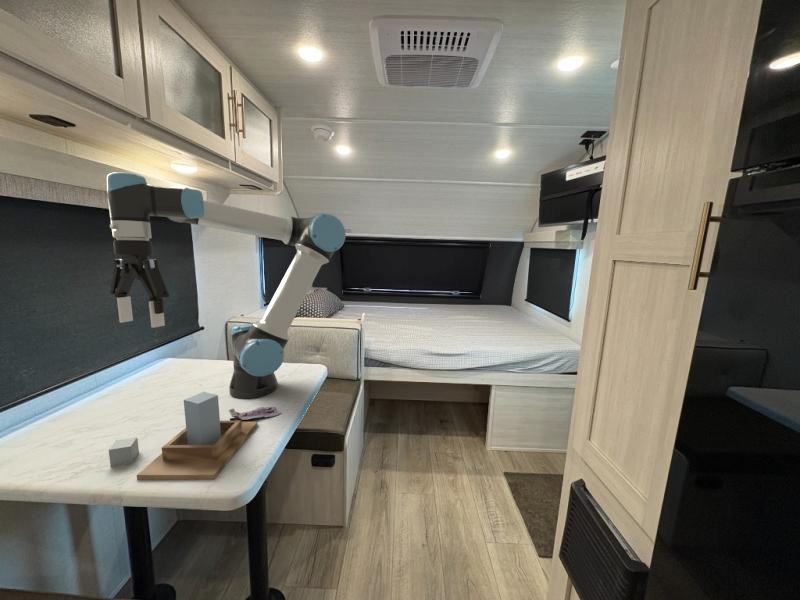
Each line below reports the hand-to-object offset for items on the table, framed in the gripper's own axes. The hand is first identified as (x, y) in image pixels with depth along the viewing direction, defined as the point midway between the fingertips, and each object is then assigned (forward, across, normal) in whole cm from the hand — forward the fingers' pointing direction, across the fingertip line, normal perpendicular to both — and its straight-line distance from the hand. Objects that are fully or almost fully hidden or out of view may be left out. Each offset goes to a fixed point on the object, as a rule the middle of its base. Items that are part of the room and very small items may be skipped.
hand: (141, 324), depth 85 cm
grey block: (+29, +8, -10) cm, 32 cm away
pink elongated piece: (+29, +20, +16) cm, 39 cm away
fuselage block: (+28, +21, 0) cm, 35 cm away
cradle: (+29, +21, 0) cm, 36 cm away
